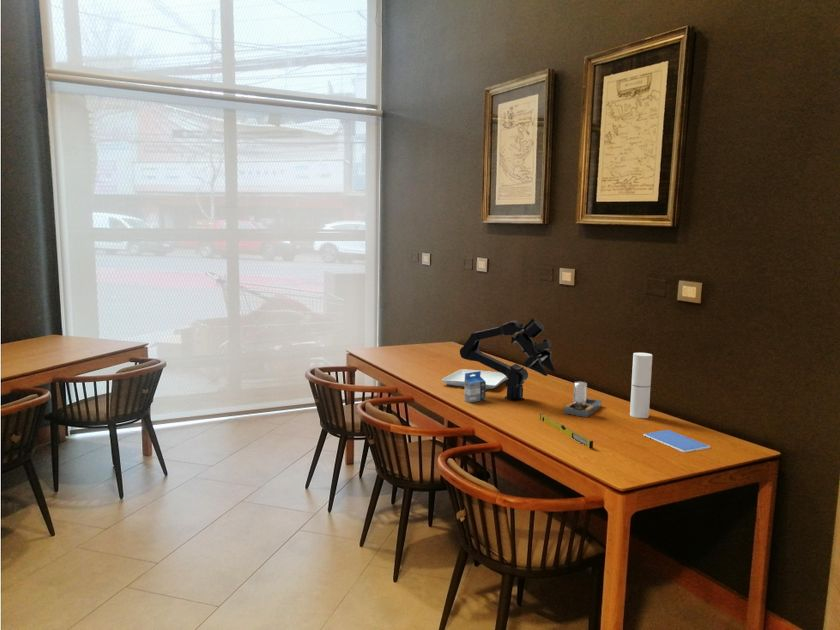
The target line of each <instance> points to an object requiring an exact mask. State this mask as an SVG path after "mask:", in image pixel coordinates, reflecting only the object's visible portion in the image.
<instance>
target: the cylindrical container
mask: <svg viewBox="0 0 840 630" xmlns="http://www.w3.org/2000/svg"><path fill="white" fill-rule="evenodd" d="M652 366H653V354H652V353H648V352H633V354H632V369H631V370H632V371H631V372H632V373H631V387H630V389H631V390H630V405H629V406H630V408H629V409H630V410H629V416H630V417H632V418H637V419H648V418H649V417H650V416H649V415H650V402H651V401H650V400H651V399H650V398H651V387H652V385H651V384H652Z"/></svg>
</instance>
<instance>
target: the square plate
mask: <svg viewBox="0 0 840 630" xmlns="http://www.w3.org/2000/svg"><path fill="white" fill-rule="evenodd" d="M478 371H481V375H480V377H481V378H482V379H483V380H484V381H485V382H486V389H485V390H493V389H495V388H497V387H498V386H499V385H500V384H502V383H504V382H505V381H506V380H507V379H508V378H507V377H506V376H505V375H504V374H502V373H500V372H498V371H489V370H481V369H480V370H477V369H476V370H475V369H464V368H463V369H459V370H456V371H455V372H453V373H450V374H449V375H446V376H445V377H444V378H442V379H441V381H442V382H443V383H444V384H446V385H449V386H453V387H454V386H455V387H456V386H457V387H462V388H465V373H471V372H478ZM471 376H475V375H473V374H472V375H470V377H471Z"/></svg>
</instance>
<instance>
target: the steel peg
mask: <svg viewBox="0 0 840 630" xmlns="http://www.w3.org/2000/svg"><path fill="white" fill-rule="evenodd" d="M587 388H588V383H587V382H585V381H574V382H573V398H572V399H573V400H572V402H573V408H578V409H584V410H585V409H586V398H587V390H588V389H587Z"/></svg>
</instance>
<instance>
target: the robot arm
mask: <svg viewBox="0 0 840 630" xmlns="http://www.w3.org/2000/svg"><path fill="white" fill-rule="evenodd" d="M545 328H546V327H545V326H544V324H543V323H542V322H540V321H539V320H537V319H536V318H535V317H533V318H532V319H530V320H529V322H528V323H527V324H523V323H521V322H520V321H518V320H511V321H508V322H506V323H504V324H502V325H500V326H497V327H493V328H488V329H484V330H480V331H478V330H477V331H474V332H472V333H471V334H470V336H469V337H468V339H467V340H466V341H465V343H464V344H463V346H462V347H461V348H460V350H459V355H460V357H461V359H463V360H467V361H471V362H472V361H473V362H477V363H480V364H482V365H483V366H486V367H488V368H490V369H492V370H494V371H495V372H499V373H502V374H504V375H505V376H506V377H507V378H508V379H507V380H505V381H504V384H505V386H506V396H504V399H507V400H509V401H512V402H516V401H522V400H525V397H523V396H524V387H523V385H524V383H525V381H526V380H528V378H529V373H528V370H527V369H530V370H532V371H535V372H536V373H538V374H541V375H543V376H544V377H547V376H548V375H549V374H548V371H547V370H546V369H545V368H547V369H548V370H550V371H551V372H553V373H555V372H556V370H557V369H556V367H555V365H554V363H553V361H552V356H553V351H552V349H551V348H553V346H552V343H553V342H552V341H551V340H550V339H549V338H545V339H542V342H541V343H538V342H537V341H534V340H533V339H535V338H537V337H538V336H539V335H540V334H542V332H544V331H545ZM514 335H515V336H514ZM497 336H511V341H510V342H511V343H510V344H514V343H517V344H518V345H519V347H520V348H521V350H522V351H521V353H523V354H526V356H527V358H526V359H525V360H524V361H523V365H524V366H521V365H519V364H518V363H514V364H512V365H510V364H507V363H505V362H504V361H503V362H502V361H501V360H498V359H496V358H494V357H492V356H491V355H488V354H485V353H484V352H483V351H481V349H480V348H479V347H480V343H481V340H483V339H488V338H493V337H497ZM526 368H527V369H526Z"/></svg>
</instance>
